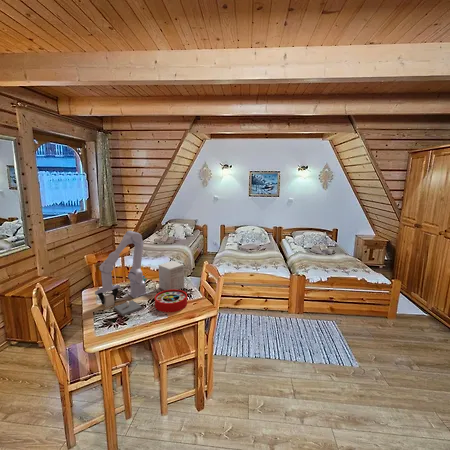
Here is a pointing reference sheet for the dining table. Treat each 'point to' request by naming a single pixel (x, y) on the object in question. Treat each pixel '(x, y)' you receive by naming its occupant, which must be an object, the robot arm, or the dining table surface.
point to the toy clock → (171, 300)
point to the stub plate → (127, 308)
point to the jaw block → (108, 299)
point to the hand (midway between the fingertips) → (108, 302)
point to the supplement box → (171, 275)
